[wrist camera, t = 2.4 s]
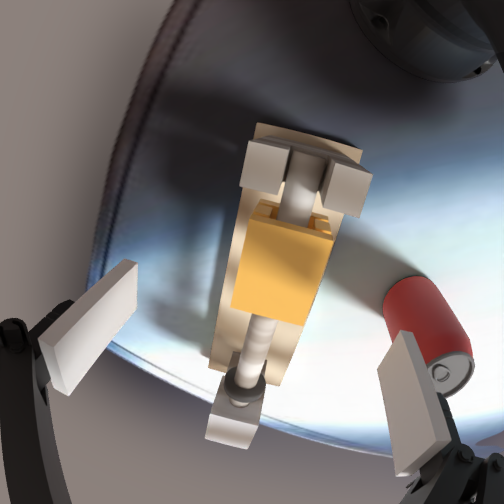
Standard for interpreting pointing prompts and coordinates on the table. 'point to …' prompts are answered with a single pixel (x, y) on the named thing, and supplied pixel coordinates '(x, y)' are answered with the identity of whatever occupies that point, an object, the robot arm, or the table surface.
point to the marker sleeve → (281, 265)
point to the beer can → (431, 331)
